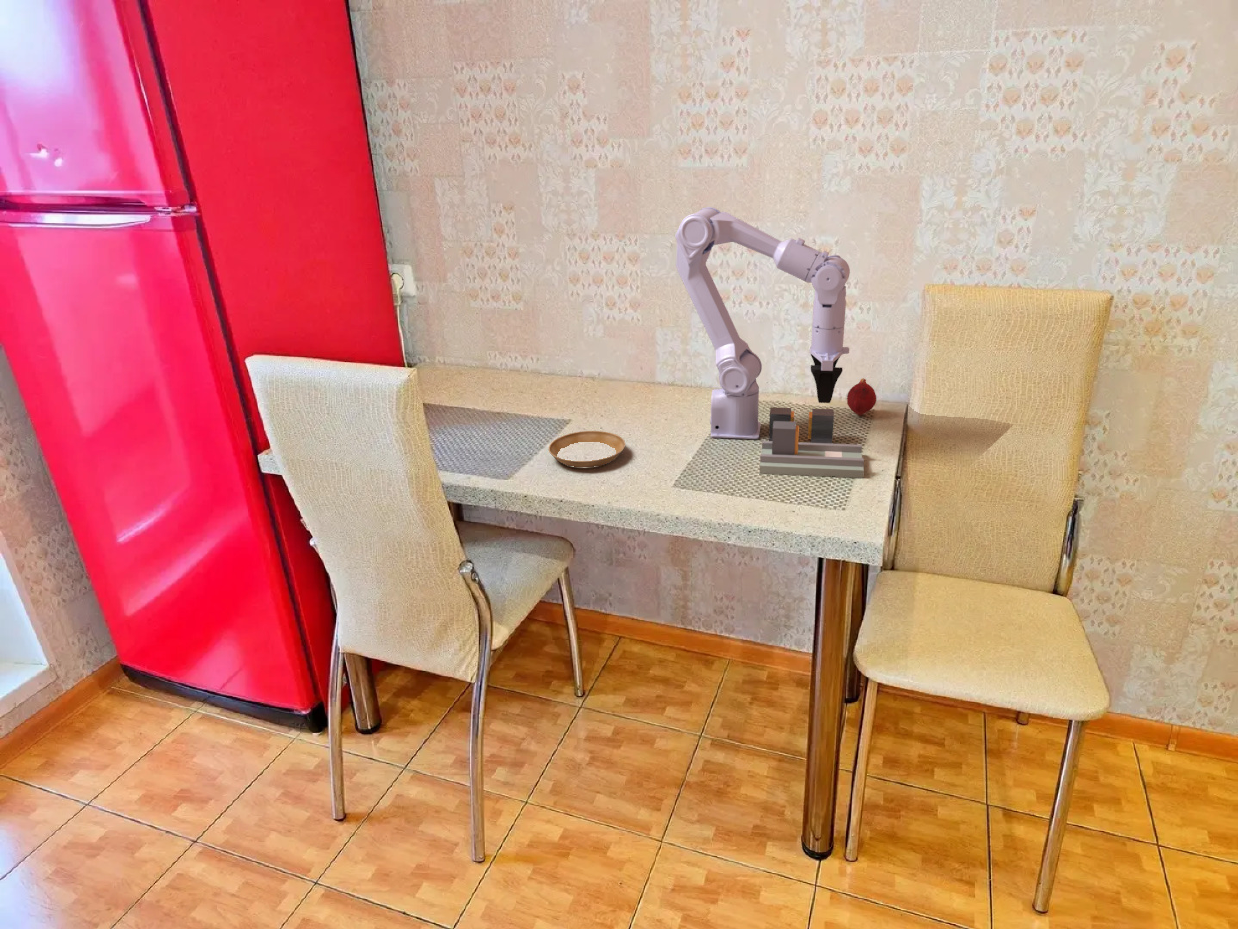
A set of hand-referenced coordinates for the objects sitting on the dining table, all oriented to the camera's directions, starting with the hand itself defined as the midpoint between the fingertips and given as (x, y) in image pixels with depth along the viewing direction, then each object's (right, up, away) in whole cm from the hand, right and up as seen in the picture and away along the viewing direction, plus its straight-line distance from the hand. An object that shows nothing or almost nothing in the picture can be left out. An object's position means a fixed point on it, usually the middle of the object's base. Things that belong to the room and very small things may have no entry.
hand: (824, 395), depth 156 cm
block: (-7, -8, +6) cm, 12 cm away
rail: (-4, -13, -5) cm, 15 cm away
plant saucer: (-45, -12, +3) cm, 47 cm away
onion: (+11, -3, +15) cm, 19 cm away
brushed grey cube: (0, -9, +4) cm, 10 cm away
